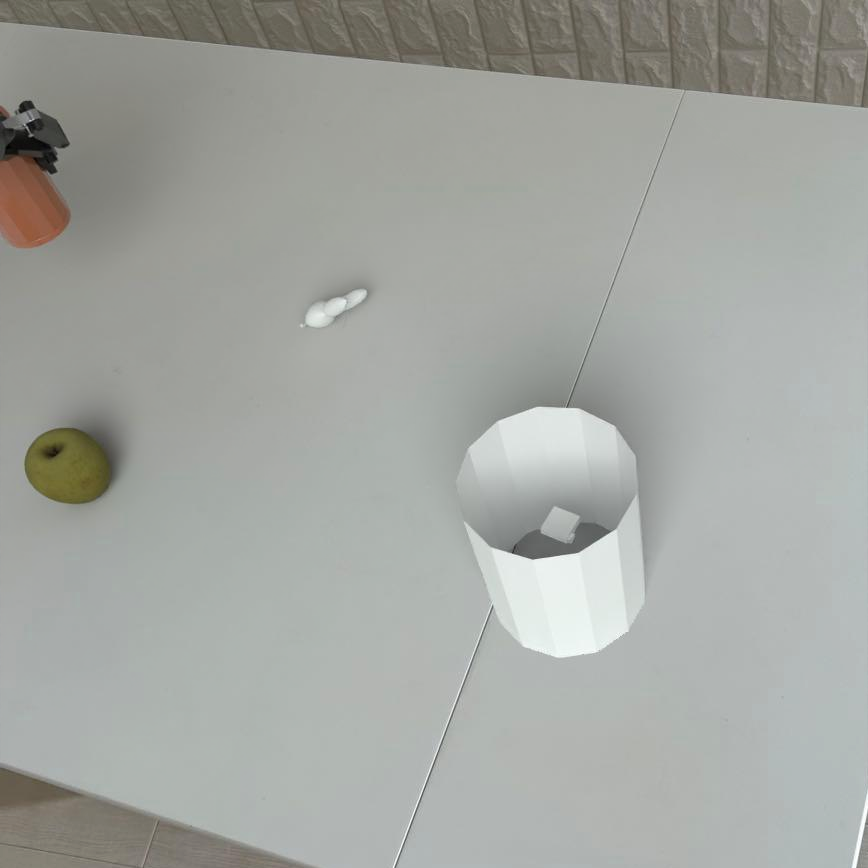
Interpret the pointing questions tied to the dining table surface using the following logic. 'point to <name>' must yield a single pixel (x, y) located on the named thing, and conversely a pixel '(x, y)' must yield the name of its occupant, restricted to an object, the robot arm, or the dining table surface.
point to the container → (556, 527)
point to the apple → (67, 466)
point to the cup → (29, 203)
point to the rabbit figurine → (332, 309)
